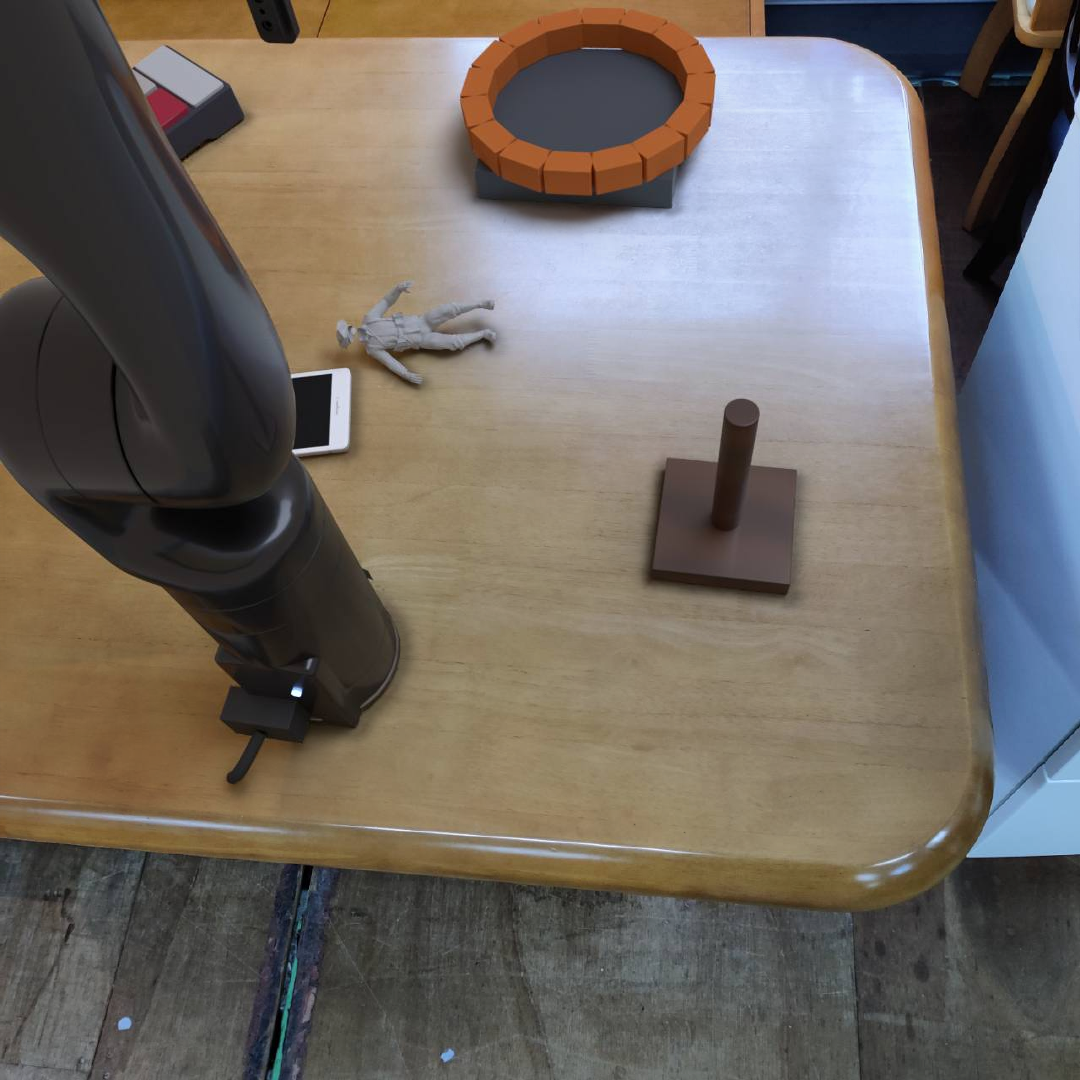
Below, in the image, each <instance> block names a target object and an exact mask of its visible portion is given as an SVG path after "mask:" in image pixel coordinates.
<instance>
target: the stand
mask: <svg viewBox="0 0 1080 1080" xmlns="http://www.w3.org/2000/svg"><path fill="white" fill-rule="evenodd" d="M683 100H684V92H683V90H682V88H681V86H680V84H679V82H678V80H677V78H676V76H675V75H674V74H673V73H671V72H670V71H668V70H667V69H666V68H664V67H663V66H662V65H660V64H659V63H658V62H656V61H655V60H654V59H652V58H649V57H646V56H643V55H639V54H636V53H633V52H629V51H626V50H623V49H615V48H581V49H577V50H572V51H568V52H563V53H559V54H555V55H550V56H547V57H545V58H543V59H541V60H539V61H537V62H535V63H533V64H532V65H530V66H528V67H526V68H524V69H522V70H520V71H518V72H517V74H516V75H515V76H514V77H513V78H512V79H511V80H510V81H509V82H508V83H507V84H506V85H505V86H504V87H503V89H502V90H501V91H500V92H499V93H498V95H497V98H496V102H495V105H494V108H493V115H494V119H495V120H496V121H497V122H498V123H499V124H501V125H502V126H503V127H504V128H505V129H506V130H507V131H508V132H510V133H511V134H512V135H513V136H514V137H515V138H516V139H519V140H522V141H525V142H527V143H530V144H533V145H536V146H539V147H542V148H545V149H547V150H550V151H565V152H596V151H600V150H604V149H609V148H613V147H617V146H622V145H626V144H630V143H633V142H634V141H636V140H638V139H640V138H641V137H643V136H645V135H647V134H648V133H650V132H652V131H654V130H655V129H657V128H659V127H661V126H663V125H664V124H665V123H666V122H667V121H668V119H669V118H670V117H671V116H672V114H673V113H674V112H675V111H676V109H677V108H678V107H679V106H680V104H681V103H682V102H683ZM678 170H679V165H677V166H675V167H673V168H672V169H670V170H668V171H667V172H665V173H663V174H661V175H660V176H658V177H656V178H655V179H653V180H651V181H649V182H648V183H647V182H646V181H644V180H643V179H642V185H638V186H634V187H629V188H625V189H621V190H616V191H612V192H608V193H604V194H599V195H597V194H596V191H595V189H594V186H593V191H592V195H569V194H548V193H546V191H545V188H544V189H543V191H542V192H541V193H540V192H538V191H535V190H532V189H529V188H527V187H524V186H521V185H518V184H516V183H513V182H510V181H508V180H505V179H503V178H502V175H500V176H498V175H497V174H496V173H495V172H494V171H492V170H491V169H490V168H489V167H488V166H487V165H486V164H485V163H484V162H483V161H482V160H481V159H480V158H479V157H478V156H477V161H476V164H475V168H474V176H475V181H476V187H477V191H478V192H477V193H478V198H479V199H486V200H502V201H503V200H504V201H522V202H523V201H525V202H526V201H527V202H543V203H544V202H545V203H563V204H564V203H565V204H586V205H605V206H607V205H608V206H625V207H646V208H648V207H649V208H667V209H672V208H673V203H674V195H675V189H676V183H677V182H676V181H677V177H678Z"/></svg>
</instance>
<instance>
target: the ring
mask: <svg viewBox="0 0 1080 1080" xmlns="http://www.w3.org/2000/svg"><path fill="white" fill-rule="evenodd" d="M577 49H623V50H626V51H629V52H633V53H636V54H639V55H643V56H646V57H649V58H652V59H654V60H655V61H656V62H658V63H659V64H660V65H662V66H663V67H664V68H666V69H667V70H668V71H670V72H671V73H673V74H674V75H675V76H676V78H677V80H678V82H679V84H680V86H681V88H682V90H683V92H684V100H683V102H682V103H681V104H680V106H679V107H678V108H677V109H676V111H675V112H674V113H673V114H672V116H671V117H670V118H669V119H668V121H667V122H666V123H665V124H664V125H663V126H661V127H659V128H657V129H655V130H654V131H652V132H650V133H648V134H647V135H645V136H643V137H641V138H640V139H638V140H636V141H634V142H633V143H630V144H626V145H622V146H617V147H613V148H609V149H604V150H600V151H596V152H565V151H550V150H547V149H545V148H542V147H539V146H536V145H533V144H530V143H527V142H525V141H522V140H519V139H516V138H515V137H514V136H513V135H512V134H511V133H510V132H508V131H507V130H506V129H505V128H504V127H503V126H502V125H501V124H499V123H498V122H497V121H496V120H495V119H494V115H493V108H494V105H495V102H496V98H497V95H498V93H499V92H500V91H501V90H502V89H503V87H504V86H505V85H506V84H507V83H508V82H509V81H510V80H511V79H512V78H513V77H514V76H515V75H516V74H517V72H518V71H520V70H522V69H524V68H526V67H528V66H530V65H532V64H533V63H535V62H537V61H539V60H541V59H543V58H545V57H547V56H550V55H555V54H559V53H563V52H568V51H572V50H577ZM470 66H471V67H468V70H467V72H466V76H465V79H464V82H463V86H462V88H461V92H460V93H459V94H460V95H459V102H460V108H461V112H462V119H463V123H464V128H465V131H466V134H467V137H468V141H469V145H470V148H471V151H473V153H474V155H475V156H476V157H477V158H478V157H479V158H480V159H481V160H482V161H483V162H484V163H485V164H486V165H487V166H488V167H489V168H490V169H491V170H492V171H494V172H495V173H496V174H497V175H498V176H500V175H502V178H503V179H505V180H508V181H510V182H513V183H516V184H518V185H521V186H524V187H527V188H529V189H532V190H535V191H538V192H540V193H541V192H542V191H543V189H544V188H545V191H546V193H548V194H569V195H592V191H593V186H594V189H595V191H596V194H597V195H599V194H604V193H608V192H612V191H616V190H621V189H625V188H629V187H634V186H638V185H642V179H643V180H644V181H646V182H647V183H648V182H649V181H651V180H653V179H655V178H656V177H658V176H660V175H661V174H663V173H665V172H667V171H668V170H670V169H672V168H673V167H675V166H677V165H678V166H679V165H680V164H682V163H684V159H688V158H689V157H690V155H691V154H692V153H693V151H694V150H695V149H696V148H697V146H698V145H699V144H700V143H701V141H703V139H704V137H705V136H706V135H707V133H708V132H709V129H710V127H711V124H712V118H713V109H714V102H715V94H716V93H715V92H716V77H717V74H716V69H715V67H714V66H713V63H712V61H711V60H710V57H709V56H708V53H707V51H706V50H705V48H704V46H703V44H702V43H700V40H698V39H697V38H696V37H694V36H693V35H692V34H690V33H689V32H687V31H686V30H685V29H683V28H681V27H680V26H679V25H677V24H676V23H675V22H673V21H669V22H668V19H667V18H663V17H660V16H657V15H654V14H653V15H652V14H649V13H646V12H642V11H639V10H635V9H632V8H629V9H628V10H627V11H626V8H625V7H583V8H582V12H581V11H580V8H578V7H577V8H572V9H568V10H565V11H564V10H563V11H560V12H556V13H551V14H547V15H542V16H538V17H537V21H536V20H535V19H531V20H529V21H527V22H525V23H523V24H521V25H519V26H518V27H516V28H514V29H512V30H510V31H508V32H506V33H503V34H502V35H500V36H498V40H496V39H494V40H493V41H492V42H491V43H490V44H489V45H488V46H487V47H486V48H485V49H484V50H483V51H482V52H481V53H480V55H478V57H476V59H474V61H473V62H472V63H471V65H470Z"/></svg>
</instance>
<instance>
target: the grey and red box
mask: <svg viewBox="0 0 1080 1080" xmlns="http://www.w3.org/2000/svg"><path fill="white" fill-rule="evenodd" d="M131 69H132V71H133V73H134V75H135V77H136V79H137V81H138V83H139V85H140V87H141V89H142V91H143V93H144V95H145V96H146V98H147V100H148V102H149V104H150V106H151V108H152V110H153V112H154V114H155V116H156V118H157V120H158V122H159V123H160V125H161V127H162V129H163V131H164V133H165V135H166V137H167V139H168V140H169V142H170V144H171V146H172V147H173V149H174V151H175V152H176V154H177V156H178V158H179V159H180V160H181V159H182V158H184V157H186V156H187V155H189V154H190V152H192V151H194V150H195V149H196V148H197V147H198V146H200V145H201V144H203V143H204V142H205V141H207V140H212V139H213V140H214V139H218V138H220V137H221V136H223V135H224V134H225V133H227V131H229V130H231V128H233V127H234V126H236V125H237V124H238V123H239V122H241V121H242V120H243V119H244V118H245V113H244V112H243V109H242V107H241V105H240V103H239V101H238V99H237V96H236V94H235V92H234V90H233V88H232V86H231V84H230V83H228V82H227V81H225V80H223V79H222V78H220V77H219V76H217V75H215V74H214V73H213V72H210V71H209V70H207V69H206V68H204V67H203V66H201V65H200V64H198V63H196V62H195V61H193V60H192V59H190V58H189V57H187V56H185V55H184V54H182V53H180V52H179V51H177V50H176V49H174V48H173V47H171V46H170V45H167V44H164V45H161V46H159V47H158V48H157V49H155V50H154V51H152V52H151V53H149V54H148V55H147V56H145V57H143V58H142V59H140V61H138V62H137V63H135V65H134V66H133V67H131Z"/></svg>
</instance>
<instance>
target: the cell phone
mask: <svg viewBox="0 0 1080 1080" xmlns="http://www.w3.org/2000/svg"><path fill="white" fill-rule="evenodd" d="M291 378H292V383H293V388H294V394H295V407H296V429H295V439H294V444H293V449H292V452H293V453H294V454H295V455H296V456H297V457H298V458H300V457H301V458H302V457H309V456H318V455H326V454H336V453H337V454H339V453H345V452H347V451H348V450H349V449H350V446H351V422H352V421H351V419H352V390H353V389H352V388H353V375H352V373H351V371H350V368H348V367H341V368H332V369H323V370H315V371H308V372H307V371H306V372H298V373H291Z"/></svg>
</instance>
